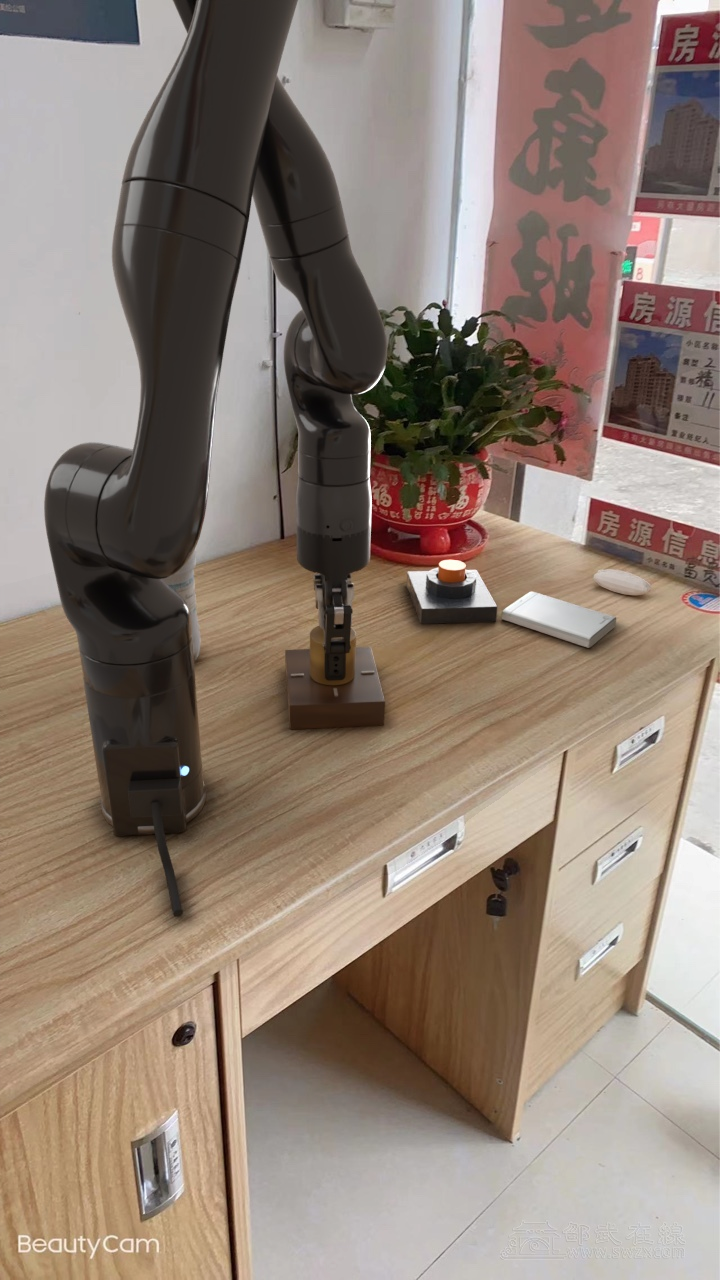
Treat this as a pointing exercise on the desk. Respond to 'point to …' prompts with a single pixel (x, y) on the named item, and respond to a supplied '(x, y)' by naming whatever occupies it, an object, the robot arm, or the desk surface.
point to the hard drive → (559, 619)
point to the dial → (318, 658)
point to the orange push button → (451, 571)
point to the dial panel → (333, 694)
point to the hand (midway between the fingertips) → (332, 664)
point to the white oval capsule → (622, 582)
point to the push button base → (450, 598)
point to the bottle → (188, 597)
